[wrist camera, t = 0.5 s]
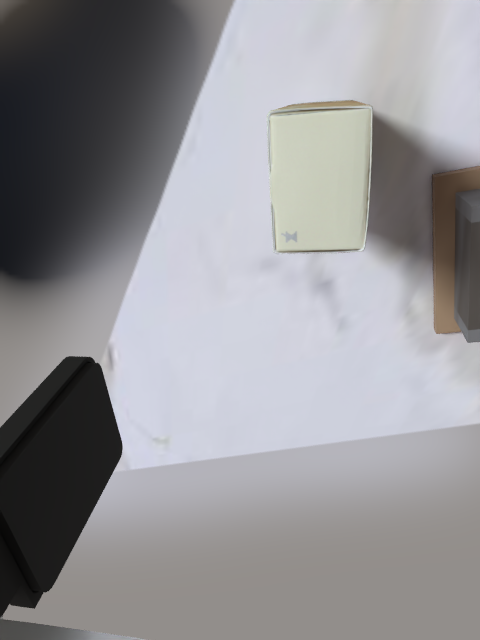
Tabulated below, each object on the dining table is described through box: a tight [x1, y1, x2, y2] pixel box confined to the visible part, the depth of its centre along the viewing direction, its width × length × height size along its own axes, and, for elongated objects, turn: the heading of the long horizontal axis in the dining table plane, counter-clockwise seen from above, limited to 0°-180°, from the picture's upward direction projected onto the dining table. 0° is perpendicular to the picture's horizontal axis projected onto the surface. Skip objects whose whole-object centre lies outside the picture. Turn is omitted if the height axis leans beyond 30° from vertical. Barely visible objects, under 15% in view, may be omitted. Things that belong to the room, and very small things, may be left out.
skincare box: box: [267, 100, 373, 254], centre depth 23 cm, size 6×4×12 cm
